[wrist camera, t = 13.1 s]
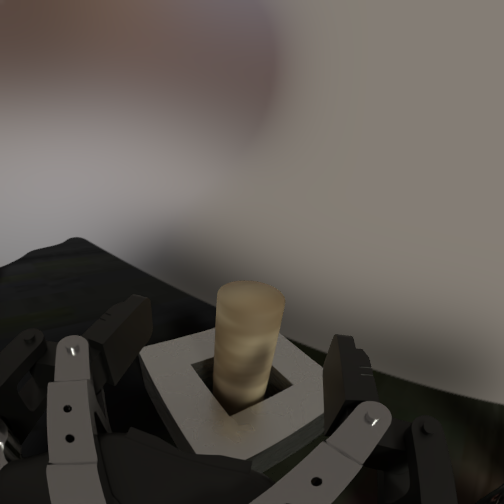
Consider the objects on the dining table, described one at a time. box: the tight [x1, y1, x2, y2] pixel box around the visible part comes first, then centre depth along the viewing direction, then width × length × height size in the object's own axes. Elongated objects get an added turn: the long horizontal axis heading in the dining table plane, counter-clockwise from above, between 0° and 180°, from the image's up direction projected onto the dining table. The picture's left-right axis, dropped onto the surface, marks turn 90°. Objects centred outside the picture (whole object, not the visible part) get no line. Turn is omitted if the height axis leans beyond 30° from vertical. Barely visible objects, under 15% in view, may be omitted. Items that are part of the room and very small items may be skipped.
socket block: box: [138, 328, 324, 473], centre depth 20 cm, size 12×12×5 cm
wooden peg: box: [213, 281, 285, 416], centre depth 18 cm, size 4×4×12 cm
